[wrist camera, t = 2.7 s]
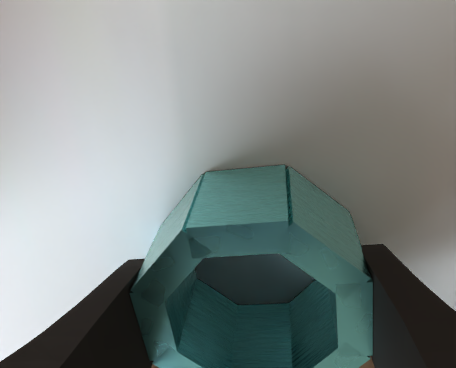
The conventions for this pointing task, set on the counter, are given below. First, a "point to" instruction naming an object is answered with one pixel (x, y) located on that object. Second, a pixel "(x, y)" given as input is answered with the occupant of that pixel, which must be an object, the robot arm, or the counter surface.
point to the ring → (256, 245)
